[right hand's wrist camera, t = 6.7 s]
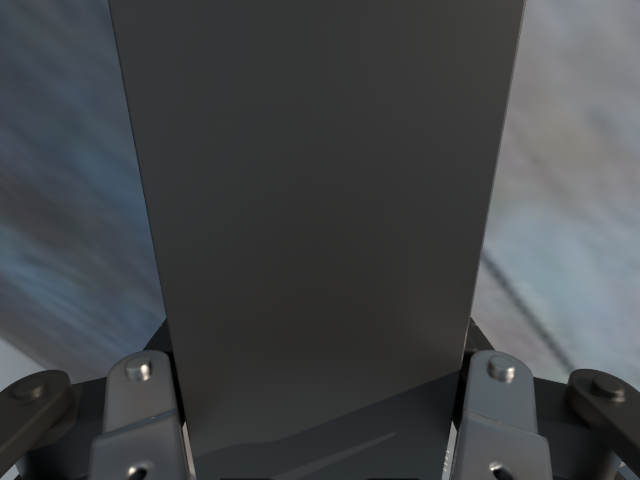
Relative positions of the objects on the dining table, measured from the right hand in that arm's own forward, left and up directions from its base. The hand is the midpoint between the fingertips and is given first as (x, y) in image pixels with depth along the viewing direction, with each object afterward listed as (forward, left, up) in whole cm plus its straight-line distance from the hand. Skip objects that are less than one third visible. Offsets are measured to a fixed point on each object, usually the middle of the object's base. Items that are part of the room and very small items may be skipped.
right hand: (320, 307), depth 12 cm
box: (+9, 0, -8) cm, 12 cm away
